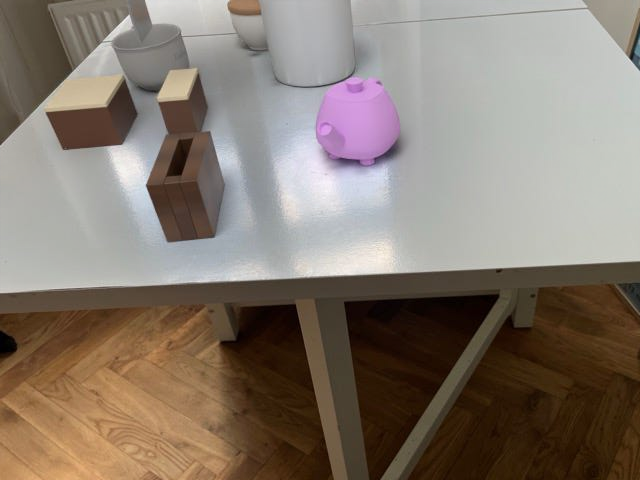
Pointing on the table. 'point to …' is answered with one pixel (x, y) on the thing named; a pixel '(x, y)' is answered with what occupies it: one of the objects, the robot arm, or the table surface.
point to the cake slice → (183, 101)
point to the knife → (139, 18)
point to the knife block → (187, 186)
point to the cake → (91, 112)
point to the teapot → (357, 120)
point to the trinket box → (248, 23)
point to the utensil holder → (309, 40)
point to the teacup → (151, 55)
